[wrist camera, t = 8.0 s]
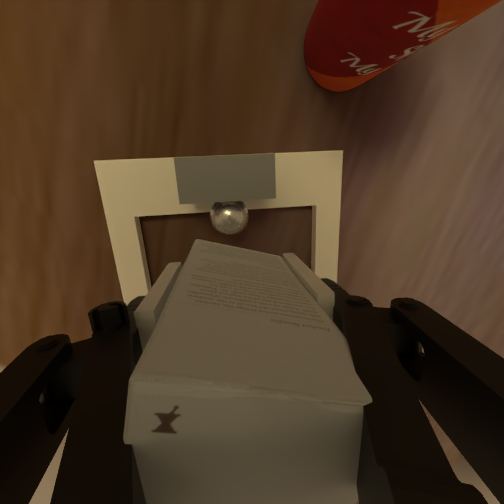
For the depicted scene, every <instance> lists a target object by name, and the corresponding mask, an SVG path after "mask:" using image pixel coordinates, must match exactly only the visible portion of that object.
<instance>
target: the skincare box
mask: <svg viewBox="0 0 504 504" xmlns="http://www.w3.org/2000/svg"><path fill="white" fill-rule="evenodd" d="M371 402H372V397H371V396H370V394H369V393H368V391H367V389H366V388H365V386H364V385H363V383H362V382H361V380H360V378H359V377H358V375H357V374H356V372H355V368H354V364H353V360H352V356H351V352H350V349H349V345H348V341H347V338H346V337H345V336H344V335H343V333H342V332H341V331H340V330H339V328H338V327H337V326H336V325H335V324H334V322H333V321H332V320H331V318H330V317H329V316H328V315H327V313H326V312H325V311H324V310H323V308H322V307H321V306H320V305H319V303H318V302H317V301H316V300H315V298H314V297H313V296H312V295H311V293H310V292H309V291H308V290H307V289H306V287H305V286H304V285H303V283H302V282H301V281H300V280H299V279H298V277H297V276H296V275H295V274H294V272H293V271H292V270H291V268H290V267H289V266H288V265H287V263H286V262H285V261H284V260H283V258H282V257H281V256H279V255H273V254H269V253H264V252H259V251H254V250H249V249H244V248H239V247H234V246H230V245H225V244H220V243H215V242H210V241H205V240H200V239H196V240H195V241H194V243H193V246H192V248H191V250H190V252H189V254H188V257H187V259H186V261H185V263H184V265H183V267H182V269H181V271H180V273H179V275H178V278H177V280H176V282H175V284H174V286H173V288H172V291H171V293H170V295H169V297H168V299H167V301H166V303H165V306H164V308H163V311H162V313H161V315H160V317H159V319H158V322H157V324H156V326H155V329H154V331H153V333H152V335H151V337H150V339H149V341H148V343H147V345H146V347H145V349H144V351H143V353H142V355H141V357H140V359H139V361H138V363H137V365H136V367H135V369H134V371H133V373H132V375H131V377H130V379H129V385H128V396H127V406H126V416H125V425H124V434H123V439H124V443H125V444H132V447H133V451H134V455H135V459H136V463H137V467H138V471H139V475H140V480H141V484H142V488H143V492H144V496H145V500H146V504H357V502H358V500H359V499H358V492H357V476H358V466H359V456H360V446H361V436H362V426H363V406H364V405H367V404H369V403H371Z"/></svg>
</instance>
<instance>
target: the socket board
mask: <svg viewBox="0 0 504 504" xmlns="http://www.w3.org/2000/svg"><path fill="white" fill-rule="evenodd" d="M342 162H343V150H337V151H313V152H289V153H266V154H242V155H218V156H194V157H171V158H147V159H123V160H99V161H94V165H95V170H96V174H97V179H98V184H99V188H100V193H101V198H102V202H103V207H104V212H105V216H106V221H107V226H108V230H109V235H110V240H111V244H112V249H113V253H114V258H115V263H116V267H117V272H118V277H119V281H120V286H121V291H122V295H123V300H124V303H126V306H127V305H128V304H129V302H130V301H131V300H133V299H135V298H136V297H138V296H146V295H147V293H148V292H149V291H150V289H151V288H152V287H151V281H150V276H149V270H148V265H147V259H146V253H145V248H144V242H143V236H142V231H141V225H140V220H139V216H154V215H170V214H186V213H201V212H210V210H211V208H212V206H213V204H214V203H215V202H227V201H242V202H243V203H244V204H245V205H246V207H247V210H249V209H264V208H280V207H296V206H312V243H311V270H312V271H313V272H314V273H315V274H316V275H317V276H318V277H319V278H320V279H321V278H328V279H330V280H332V281H334V282H335V283H337V268H338V247H339V226H340V204H341V183H342Z"/></svg>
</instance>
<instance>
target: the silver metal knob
mask: <svg viewBox="0 0 504 504" xmlns="http://www.w3.org/2000/svg"><path fill="white" fill-rule="evenodd" d="M248 219H249V214H248V210H247V207H246V205H245V204H244V203H243V202H242V201H227V202H215V203H214V204H213V206H212V208H211V210H210V221H211V224H212V226H213V227H214V228H215V230H217V231H218V232H219V233H221V234H224V235H235V234H238V233H240V232H241V231H242V230H243V229H244V228H245V227H246V225H247V223H248Z"/></svg>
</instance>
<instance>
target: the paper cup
mask: <svg viewBox="0 0 504 504" xmlns="http://www.w3.org/2000/svg"><path fill="white" fill-rule="evenodd" d="M500 1H502V0H318V2H317V5H316V7H315V10H314V12H313V15H312V17H311V20H310V22H309V25H308V28H307V31H306V35H305V40H304V58H305V62H306V66H307V68H308V71H309V73H310V75H311V76H312V78H313V79H314V80H315V81H316V82H317V83H318V84H319V85H320V86H322V87H323V88H325V89H327V90H330V91H335V92H342V91H347V90H350V89H353V88H355V87H357V86H359V85H361V84H362V83H364V82H366V81H368V80H369V79H371V78H373V77H375V76H376V75H378V74H380V73H381V72H383V71H385V70H386V69H388V68H390V67H392V66H393V65H395V64H397V63H398V62H400V61H402V60H403V59H405V58H407V57H408V56H410V55H412V54H413V53H415V52H417V51H418V50H420V49H422V48H423V47H425V46H427V45H428V44H430V43H432V42H433V41H435V40H437V39H438V38H440V37H442V36H443V35H445V34H447V33H448V32H450V31H452V30H453V29H455V28H457V27H458V26H460V25H462V24H463V23H465V22H467V21H468V20H470V19H472V18H473V17H475V16H477V15H478V14H480V13H482V12H483V11H485V10H487V9H488V8H490V7H492V6H493V5H495V4H497V3H498V2H500Z"/></svg>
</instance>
